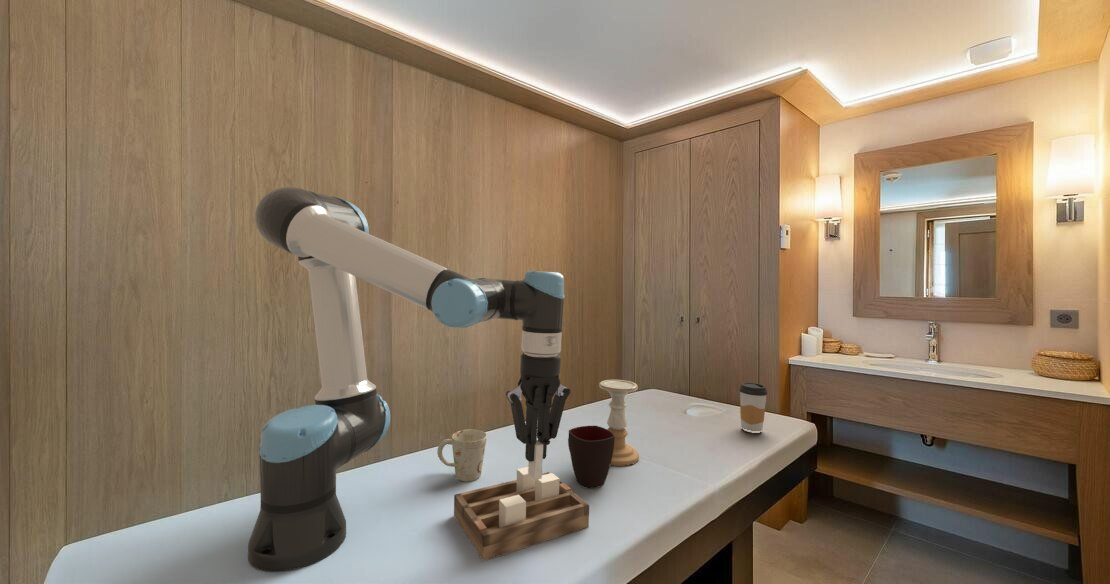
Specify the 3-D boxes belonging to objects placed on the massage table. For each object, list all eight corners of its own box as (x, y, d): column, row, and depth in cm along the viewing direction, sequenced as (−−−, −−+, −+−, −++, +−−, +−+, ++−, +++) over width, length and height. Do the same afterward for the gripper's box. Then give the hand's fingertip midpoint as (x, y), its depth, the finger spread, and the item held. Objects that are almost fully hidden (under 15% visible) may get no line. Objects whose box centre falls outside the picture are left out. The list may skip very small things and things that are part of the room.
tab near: (505, 534, 79) (506, 507, 79) (498, 526, 81) (499, 499, 81) (525, 528, 81) (526, 501, 81) (518, 520, 83) (518, 494, 83)
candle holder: (590, 463, 116) (592, 387, 115) (597, 445, 128) (599, 377, 127) (637, 469, 113) (640, 391, 112) (640, 450, 125) (642, 380, 124)
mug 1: (478, 485, 102) (479, 443, 101) (428, 479, 104) (428, 438, 104) (490, 470, 110) (491, 431, 110) (443, 464, 112) (444, 426, 112)
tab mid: (541, 507, 88) (542, 483, 88) (534, 500, 91) (535, 476, 91) (558, 502, 90) (559, 478, 90) (551, 496, 93) (552, 472, 93)
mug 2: (583, 496, 98) (584, 443, 98) (554, 471, 110) (555, 424, 110) (619, 487, 103) (620, 436, 102) (587, 464, 115) (588, 418, 115)
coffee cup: (767, 429, 145) (769, 384, 145) (763, 437, 138) (765, 390, 138) (740, 424, 150) (741, 381, 149) (735, 431, 143) (737, 385, 142)
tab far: (522, 498, 92) (523, 474, 92) (516, 492, 94) (516, 469, 94) (539, 493, 94) (540, 470, 94) (532, 487, 96) (533, 465, 96)
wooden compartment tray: (483, 561, 75) (483, 534, 75) (453, 515, 89) (454, 493, 89) (588, 526, 86) (589, 503, 86) (548, 491, 100) (548, 470, 100)
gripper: (518, 359, 76) (511, 492, 77) (580, 355, 83) (574, 478, 84) (501, 351, 82) (495, 474, 83) (560, 348, 89) (554, 462, 90)
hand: (534, 476), depth 84 cm, fingers closed
